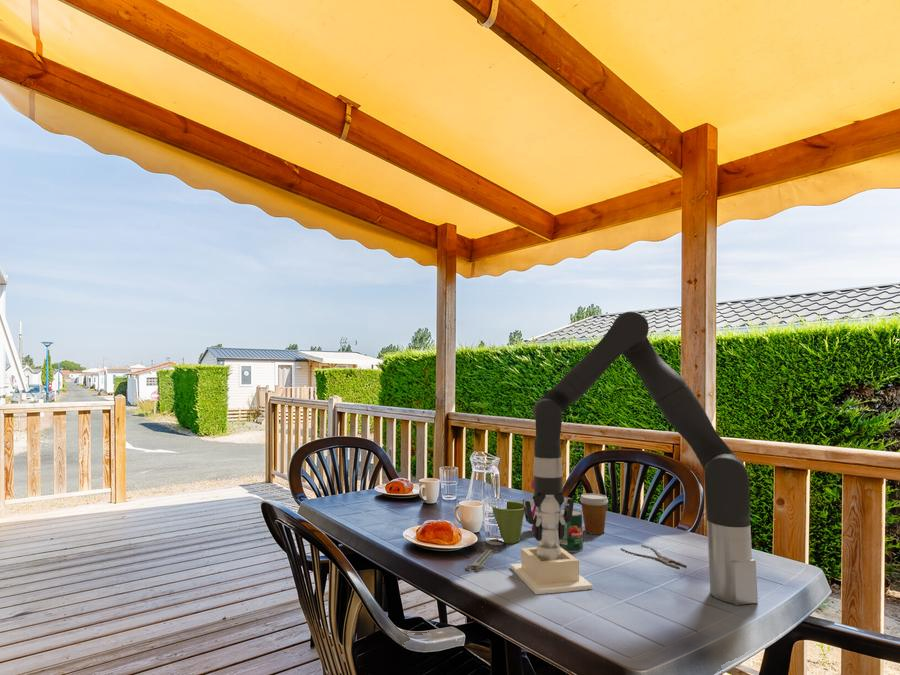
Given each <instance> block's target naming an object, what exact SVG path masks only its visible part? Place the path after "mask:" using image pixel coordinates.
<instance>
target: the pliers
mask: <svg viewBox="0 0 900 675" xmlns="http://www.w3.org/2000/svg"><path fill="white" fill-rule="evenodd" d="M641 545H642V546H644V547H643V548H646V547H647V548H646V549H648V548H650V549H651V550H650V549H649V550H650V551H652V550H653V551H652V552H654V554H655V555H656V556H657V557H656V556H651V555H647V554H641V553H637V552H632V551H629V550H626V549H624V548H620V550H621V549H622V550H623V551H622V550H621V551H622V552H624V551H625V552H624V553H627V552H628V553H627V554H629V553H631V554H630V555H632V554H634V555H633V556H636V555H637V556H638V557H641V556H642V558H646V557H647V558H646V559H650V558H651V559H652V560H654V559H655V561H658V562H659V563H663V564H664V565H666V566H668V567H671V568H675V569H678V570H680V566H681V567H683V568H687V567H688V566H687V565H686V564H683V563H682V562H679V561H677V560H674V559H673V558H669V557H667V556H663V555H662V554H661V553H660V552H658V551H657V550H656V549H654V548H652V547H650V546H648V545H644V544H641ZM642 546H641V547H642ZM659 557H660V558H659ZM651 559H650V560H651ZM669 562H670V563H669Z"/></svg>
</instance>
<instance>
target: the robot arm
mask: <svg viewBox="0 0 900 675" xmlns="http://www.w3.org/2000/svg"><path fill="white" fill-rule="evenodd" d="M649 329H650V328H649V322H648V320H647V319H646V317H645V316H644V315H643V314H641V313H640V312H637V311H627V312H623V313H621V314H620V315H618V316H617V317H616V319H614V321H613V322H612V325H611V326H610V327H609V328H608V330H607V331H606V333H605V335H604V336H603V337H602V338H601V339H600V340H599V342H598V343H596V345H594V347H593V348H592V349H591V350H590V351H589V352H588V353H587V354H586V355H585V356H584V357H583V358H582V359H581V360H579V361H578V363H576V364H575V365H574V366H573V367H572V368H570V370H569V371H568V372H567V373H566V374H565V375H563V377H562V378H561V379H560V380H559V381H558V382H557V383H556V384H555V386H554V387H552V388H551V389H549V391H547V392H546V393H545V394H544V395H542V396H541V397H540V398H539V399H538V400H537V401H536V402H535V404H534V405H533V407H532V415H533V418H534V419H535V420H534V421H535V437H534V441H533V443H534V444H533V446H534V447H533V448H534V450H533V452H534V458H533V471H532V473H533V479H534V489H533V491H534V495H532V498H531V499H530V498H529V499H525V498H524V499H523V500H522V503H523V507H524V512H525V514H524V517H525V521H526V522H527V523H529V525H533V532H532V537H533V538H535V540H536V541H537V542H538V541H541V527H540V523H541V518H542V513H541V512H540V513H539V514H538V513H537V510H535V513H534V514H535V515H534V518H533V516H532V510H533V507H534V504H535V505H536V507H538V508H539V507H540V504H541V503H542V501H543V500H544V498H545V497H546V495H554V497H555V498H556V500H557V501H558V502H557V501H556V502H557V503H559V504H560V507H562V505H563V506H564V508H563V509H564V516H563V514H562V512H561V509H562V508H561V509H560V516H559V517H560V518H559V539H563V537H564V525H565V523H567V522H571V519H572V512H573V509H574V505H575V501H574V499H573V498H571V497H569V496H567V497H565V496H563V463H562V462H563V461H562V450H561V449H562V447H561V446H562V445H561V444H562V443H561V433H562V425H563V424H562V420H563V419H562V418H563V417H562V415H563V414H562V413H563V412H564V411H565V410H566V409H567V408H568V407H569V406H570V405H572V404H574V403H576V402H578V401H579V399H581V398H582V397H583V396H584V395H585V394H586V393H587V392H588V391H589V390H590V389H591V388H593V386H594V384H595V383H596V382H597V381H598V380H599V379H600V378H601V377H602V376H603V374H604V373H605V372H606V371H607V369H608V368H609V367H610V366H611V365H612V364H613V363H614V362H615V361H616V360H617V359H618V358H619V357H620V356H622V355H623V357H625V359H627V361H628V362H629V363H630V365H631V366H632V367H633V369H634V370H635V371H636V373H637V375H638V377H639V378H640V380H641V381H642V382H641V383H643V384H642V385H644V386H645V389H646V390H647V391H648V393H649V395H650V397H651V399H652V400H653V402H654V403H655V405H656V406H657V408H658V409H659V410H660V412H661V414H662V415H663V417H664V418H665V419H666V420H667V421H668V423H669V424H670V425H671V426H672V427H673V428H674V429H675V431H676V432H677V433H678V434H679V435H680V436H681V437H682V438H683V439H684V440H685V441H686V442H687V444H688V445H689V446H690V448H691V449H692V451H693V453H694V454H695V456H696V458H697V460H698V462H699V463H700V465H701V466H702V469H703V471H704V472H703V473H704V490H705V491H704V493H705V494H704V496H705V511H706V526H707V527H706V528H707V529H706V530H707V548H708V549H707V552H708V572H709V573H708V574H709V591H710V594H711V596H712V597H714V598H715V599H718V600H720V601H722V602H726V603H730V604H732V605H735V606H739V605H740V606H741V605H748V604H749V605H750V604H751V605H752V604H757V603H759V599H758V598H759V597H758V578H757V561H756V560H755V559H753V553H752V534H751V533H752V531H751V529H752V528H751V503H750V502H751V500H750V499H751V498H750V497H751V496H750V482H749V481H750V479H749V473H748V469H747V468H746V466H745V464H744V462H743V461H742V460H741V459H740V458H739V457H738V456H737V455H736V454H735V453H734V452H733V451H732V449H731V448H730V447H729V446H728V444H726V442H725V441H724V440H723V438H722V437H721V436H720V435H719V434H718V432H717V430H715V428H714V426H713V424H712V422H711V420H710V418H709V417H708V414H707V413H706V411H705V409H704V408H703V406H702V404H701V403H700V401H699V399H698V397H697V396H696V395H695V394H694V392H693V391H692V389H691V388H690V386H689V385H688V383H687V382H686V381H685V380H684V379H683V377H682V376H681V375H680V374H679V373H678V372H677V371H676V370H674V369H673V367H671V366H670V365H669V364H668V363H666V362H665V361H664V360H663V359H662V358H661V357H660V355H659V354H658V353H657V351H656V350H655V348H654V347H653V345H652V344H651V342H650V340H649V338H648V335H649V334H648V333H649ZM546 502H547V501H546ZM546 502H545V503H546ZM559 504H558V505H559Z"/></svg>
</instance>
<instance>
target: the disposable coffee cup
mask: <svg viewBox="0 0 900 675" xmlns="http://www.w3.org/2000/svg"><path fill="white" fill-rule="evenodd" d="M579 501H580V504H581V510H582V511H581V512H582V520H583V523H584V531H586V532H585V533H587V532H588V533H587V534H589V533H592V534H591V535H603V534H605V526H606V517H607V505H608V503H609V500H608V497H607V495H605V494H602V493H583V494H581V495H580V498H579ZM602 533H603V534H602Z"/></svg>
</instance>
